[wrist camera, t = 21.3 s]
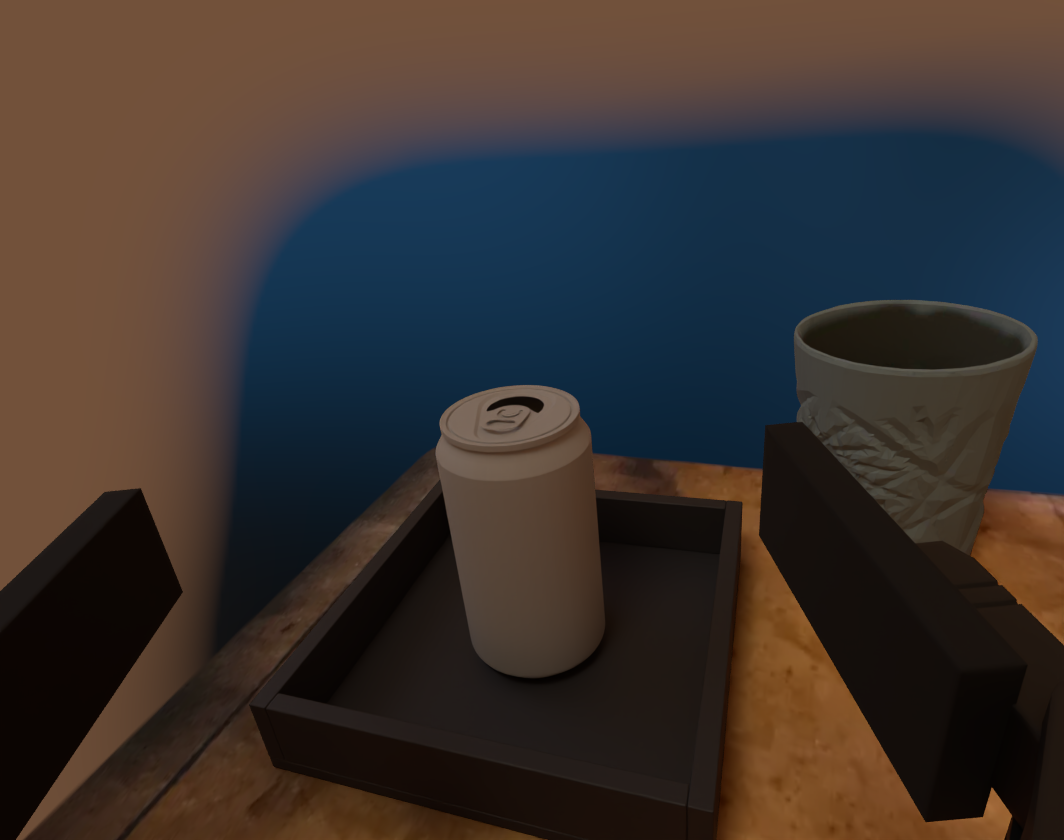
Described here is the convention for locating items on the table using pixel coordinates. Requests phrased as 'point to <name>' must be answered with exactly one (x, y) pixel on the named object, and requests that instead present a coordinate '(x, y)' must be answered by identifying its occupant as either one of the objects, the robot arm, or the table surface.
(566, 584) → the beverage can
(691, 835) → the tray
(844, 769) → the table surface
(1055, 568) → the table surface
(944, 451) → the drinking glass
